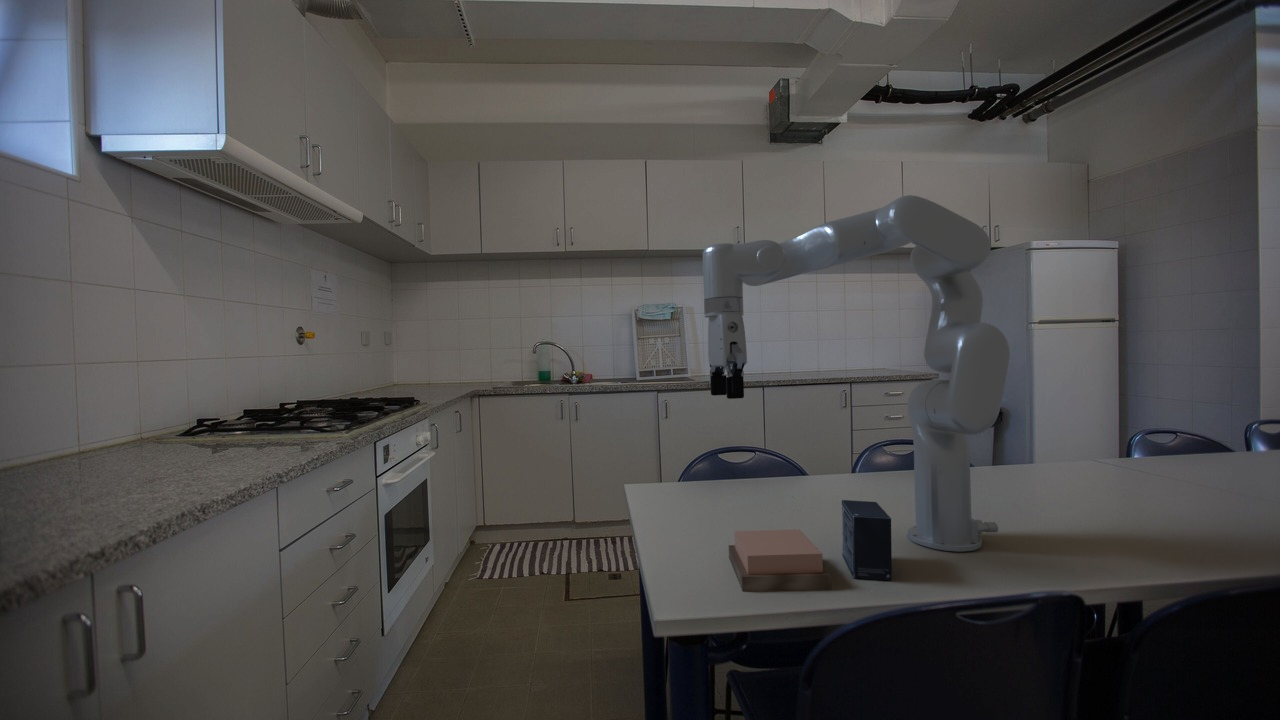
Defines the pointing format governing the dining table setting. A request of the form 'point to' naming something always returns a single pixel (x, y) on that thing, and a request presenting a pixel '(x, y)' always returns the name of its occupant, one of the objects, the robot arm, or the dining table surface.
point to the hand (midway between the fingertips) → (726, 396)
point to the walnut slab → (777, 578)
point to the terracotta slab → (777, 552)
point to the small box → (867, 540)
